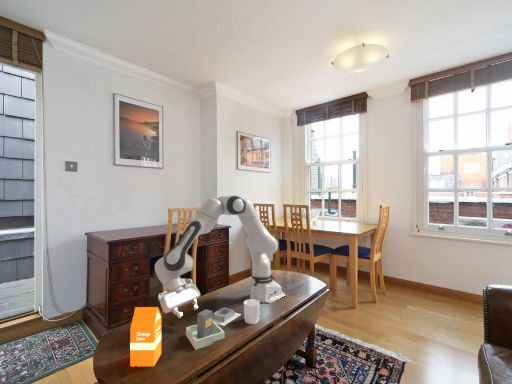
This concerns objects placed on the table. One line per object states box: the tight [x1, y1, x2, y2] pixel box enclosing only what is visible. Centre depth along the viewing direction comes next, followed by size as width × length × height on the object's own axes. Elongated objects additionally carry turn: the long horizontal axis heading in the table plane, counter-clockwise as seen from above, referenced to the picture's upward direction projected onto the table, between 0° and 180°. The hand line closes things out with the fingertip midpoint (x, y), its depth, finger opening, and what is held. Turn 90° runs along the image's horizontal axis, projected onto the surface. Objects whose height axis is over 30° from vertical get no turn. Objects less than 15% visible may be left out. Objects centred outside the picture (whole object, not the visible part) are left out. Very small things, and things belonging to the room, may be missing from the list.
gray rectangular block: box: [196, 308, 214, 338], centre depth 113 cm, size 6×4×10 cm
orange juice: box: [129, 306, 162, 368], centre depth 98 cm, size 8×9×20 cm
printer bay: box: [213, 306, 242, 327], centre depth 130 cm, size 14×12×4 cm
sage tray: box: [185, 321, 226, 351], centre depth 113 cm, size 13×13×4 cm
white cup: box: [243, 298, 261, 325], centre depth 127 cm, size 8×8×10 cm
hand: (189, 313), depth 118 cm, fingers open, 8 cm apart
